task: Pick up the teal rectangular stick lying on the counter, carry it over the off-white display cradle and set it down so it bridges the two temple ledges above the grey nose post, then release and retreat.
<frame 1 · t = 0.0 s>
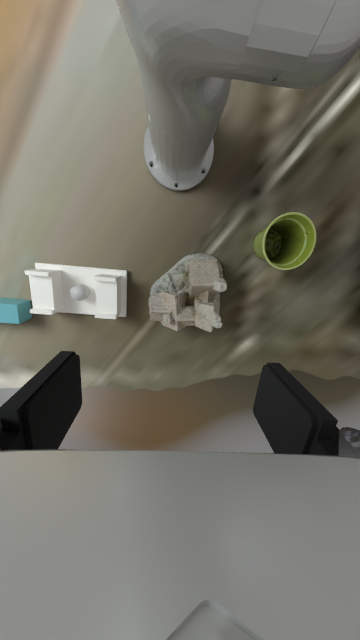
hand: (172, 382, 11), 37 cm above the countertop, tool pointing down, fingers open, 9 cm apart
grey irregular blocky piece: (186, 288, 47), on the countertop
plant pot: (266, 244, 44), on the countertop
display cradle: (84, 290, 45), on the countertop
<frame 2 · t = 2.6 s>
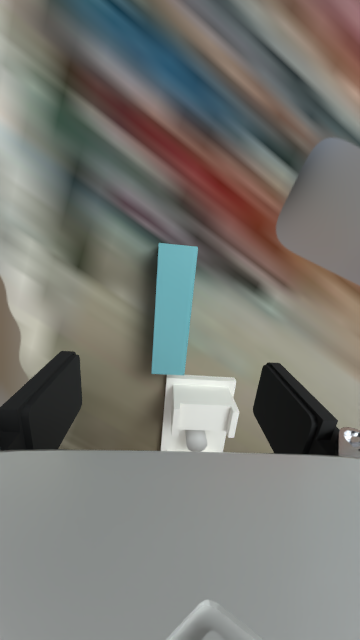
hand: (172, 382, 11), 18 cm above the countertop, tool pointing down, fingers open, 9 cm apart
teal rectangular stick: (172, 306, 28), on the countertop
display cradle: (194, 425, 33), on the countertop
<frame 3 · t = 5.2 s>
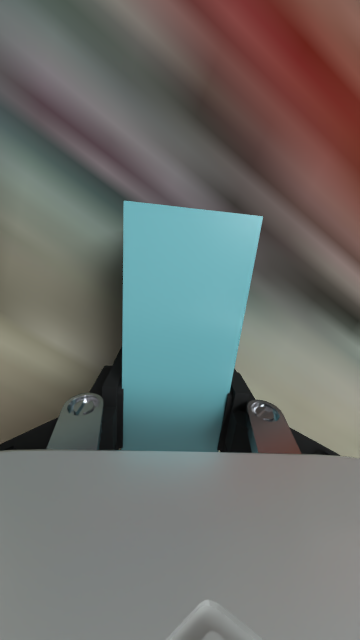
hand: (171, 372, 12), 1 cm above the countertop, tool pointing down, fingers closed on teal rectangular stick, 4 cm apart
teal rectangular stick: (171, 363, 12), on the countertop, touching gripper
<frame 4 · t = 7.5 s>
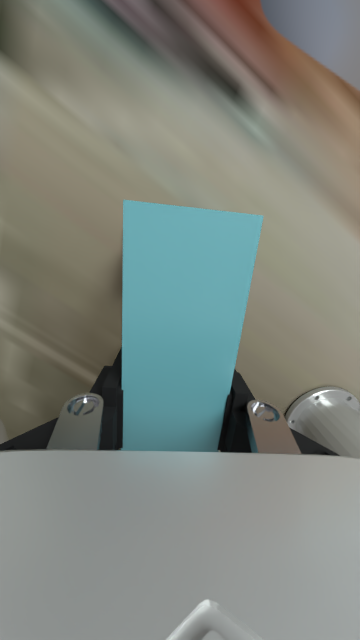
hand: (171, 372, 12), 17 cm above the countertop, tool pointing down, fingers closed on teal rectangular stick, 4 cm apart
teal rectangular stick: (171, 363, 12), point 16 cm above the countertop, touching gripper
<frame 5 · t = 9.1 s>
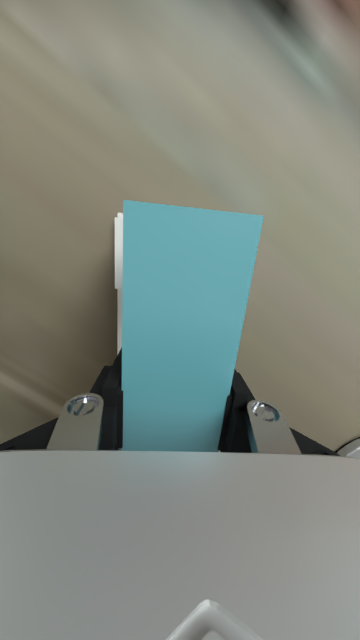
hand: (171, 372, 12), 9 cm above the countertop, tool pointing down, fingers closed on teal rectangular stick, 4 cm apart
teal rectangular stick: (171, 364, 12), point 8 cm above the countertop, touching gripper
display cradle: (172, 323, 20), on the countertop
when the fingers open (7 cm above the countertop, at t = 10.3 s): teal rectangular stick stays where it is, resting on display cradle.
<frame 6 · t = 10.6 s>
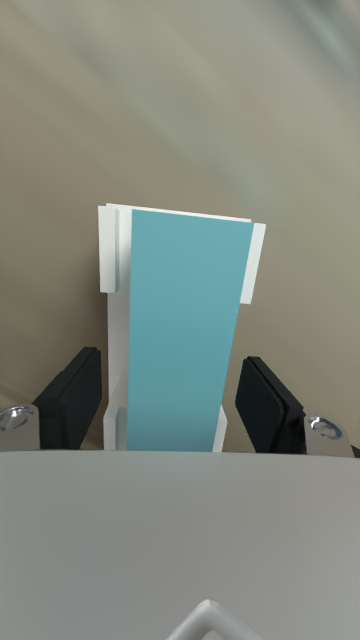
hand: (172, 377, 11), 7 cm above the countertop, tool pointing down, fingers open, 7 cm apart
teal rectangular stick: (172, 357, 13), point 5 cm above the countertop, touching display cradle
display cradle: (170, 329, 18), on the countertop
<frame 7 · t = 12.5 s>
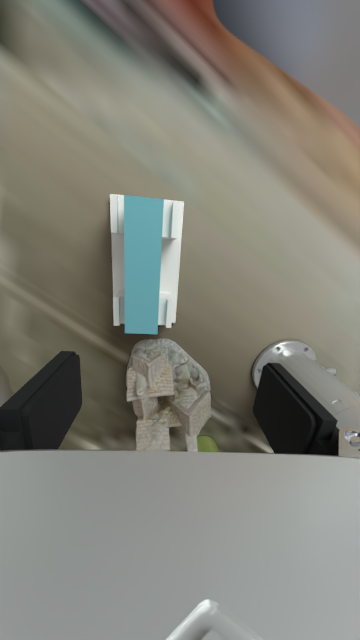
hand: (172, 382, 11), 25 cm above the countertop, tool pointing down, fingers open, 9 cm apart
grey irregular blocky piece: (170, 375, 40), on the countertop
teal rectangular stick: (145, 268, 28), point 5 cm above the countertop, touching display cradle
plant pot: (201, 444, 46), on the countertop
display cradle: (146, 264, 32), on the countertop
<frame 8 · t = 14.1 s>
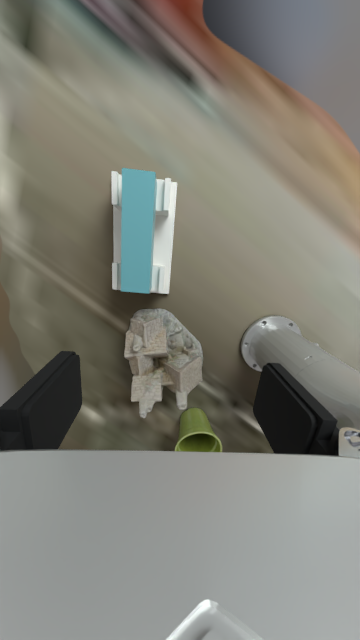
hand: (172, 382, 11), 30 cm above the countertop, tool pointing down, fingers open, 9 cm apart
grey irregular blocky piece: (166, 345, 43), on the countertop
teal rectangular stick: (140, 238, 32), point 5 cm above the countertop, touching display cradle
plant pot: (193, 417, 49), on the countertop
display cradle: (144, 239, 37), on the countertop
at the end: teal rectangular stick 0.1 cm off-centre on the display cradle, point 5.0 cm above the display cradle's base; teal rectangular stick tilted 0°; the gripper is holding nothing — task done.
